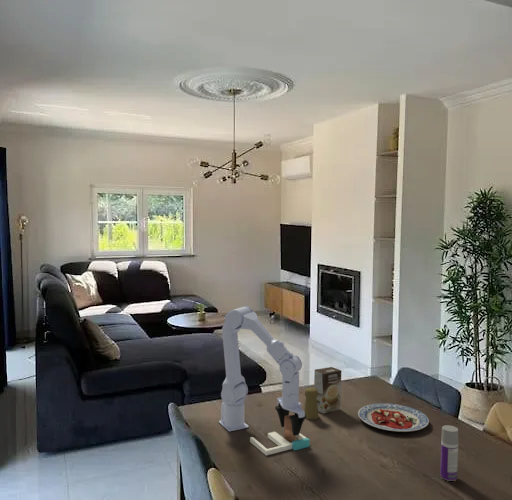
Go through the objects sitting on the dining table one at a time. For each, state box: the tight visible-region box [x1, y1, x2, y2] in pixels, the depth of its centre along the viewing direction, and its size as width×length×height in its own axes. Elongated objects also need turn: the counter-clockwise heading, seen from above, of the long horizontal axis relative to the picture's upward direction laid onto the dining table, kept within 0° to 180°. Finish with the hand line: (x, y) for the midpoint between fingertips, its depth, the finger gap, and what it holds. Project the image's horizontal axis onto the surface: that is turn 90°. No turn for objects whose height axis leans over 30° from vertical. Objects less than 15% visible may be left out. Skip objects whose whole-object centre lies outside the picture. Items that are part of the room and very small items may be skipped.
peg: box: [283, 414, 297, 443], centre depth 167 cm, size 4×4×8 cm
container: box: [439, 424, 459, 481], centre depth 143 cm, size 5×5×15 cm
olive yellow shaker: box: [303, 387, 320, 421], centre depth 187 cm, size 6×6×11 cm
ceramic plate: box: [357, 403, 430, 433], centre depth 184 cm, size 26×26×3 cm
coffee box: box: [313, 366, 342, 414], centre depth 195 cm, size 9×6×16 cm
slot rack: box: [249, 431, 311, 456], centre depth 164 cm, size 12×17×2 cm
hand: (290, 430), depth 168 cm, fingers open, 7 cm apart
